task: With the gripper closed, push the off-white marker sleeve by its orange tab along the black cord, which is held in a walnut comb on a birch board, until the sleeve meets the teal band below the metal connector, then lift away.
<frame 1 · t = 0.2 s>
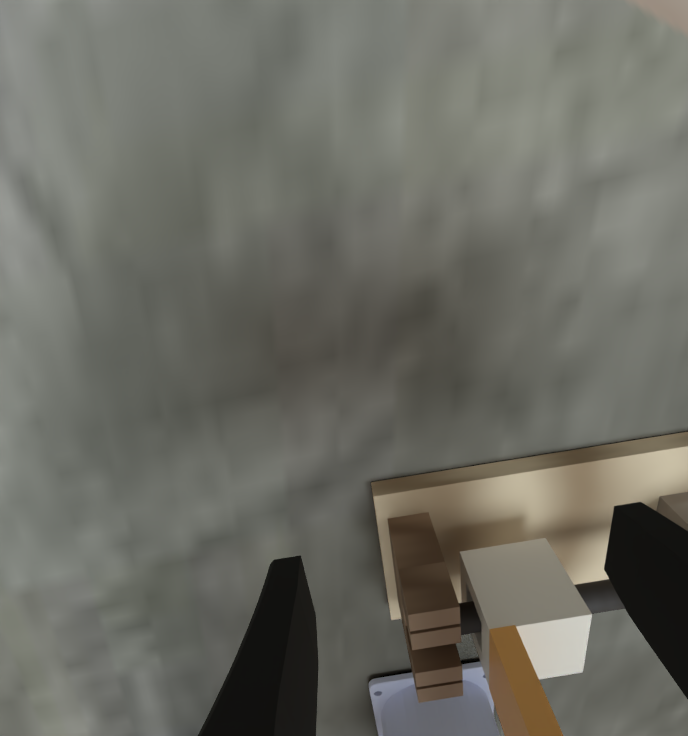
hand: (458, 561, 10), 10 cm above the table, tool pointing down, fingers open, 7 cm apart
sleeve: (539, 655, 18), point 6 cm above the table, slide at 0.0 cm
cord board: (548, 521, 24), on the table
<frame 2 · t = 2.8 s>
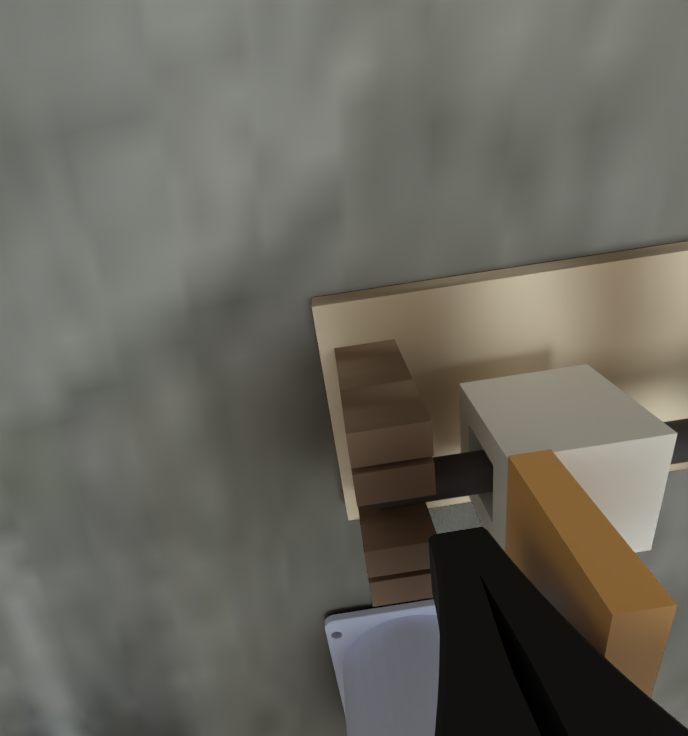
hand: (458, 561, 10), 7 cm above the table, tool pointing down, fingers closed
sleeve: (587, 510, 11), point 6 cm above the table, slide at 0.6 cm, touching gripper
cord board: (566, 376, 17), on the table
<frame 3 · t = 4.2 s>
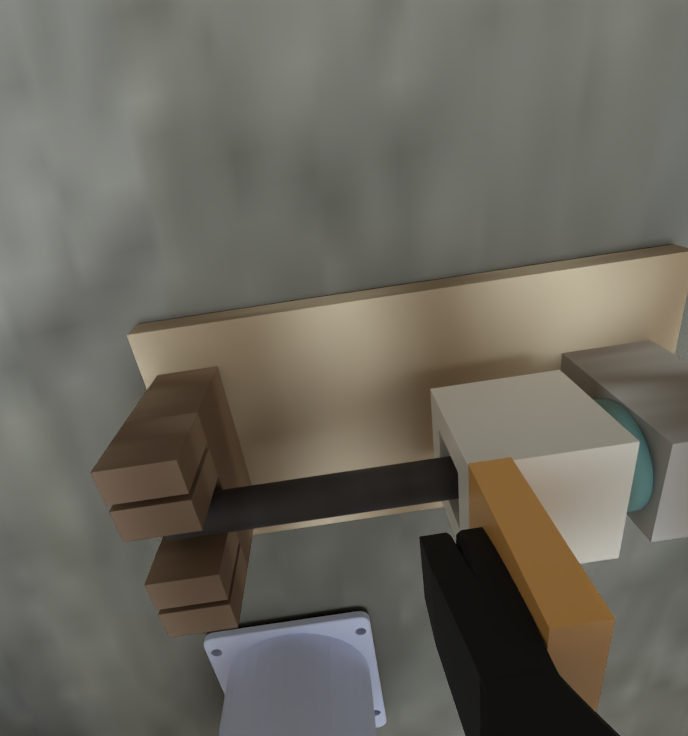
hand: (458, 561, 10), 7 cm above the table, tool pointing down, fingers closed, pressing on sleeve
sleeve: (550, 518, 11), point 6 cm above the table, slide at 5.6 cm, touching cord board, gripper
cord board: (413, 400, 17), on the table
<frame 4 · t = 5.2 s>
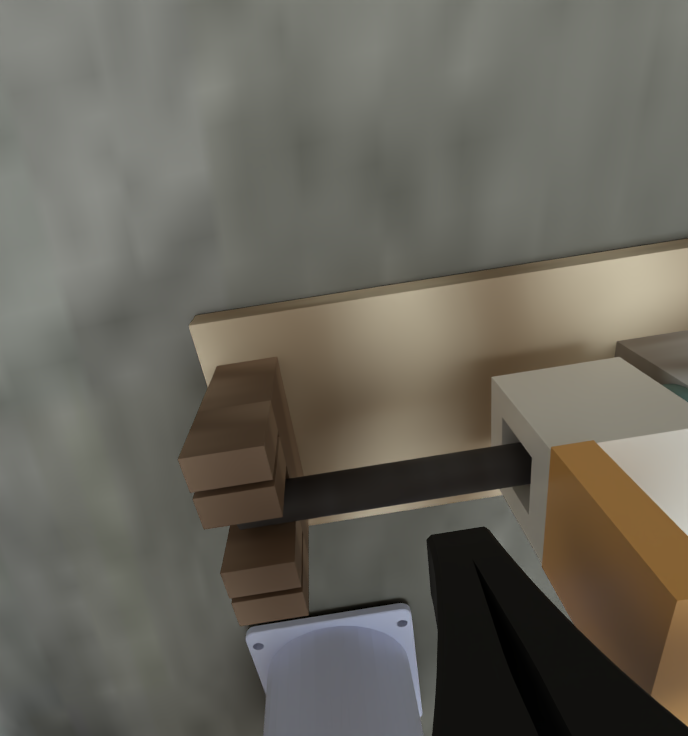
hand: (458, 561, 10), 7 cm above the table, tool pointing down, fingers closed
sleeve: (627, 501, 11), point 7 cm above the table, slide at 5.6 cm
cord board: (464, 390, 17), on the table
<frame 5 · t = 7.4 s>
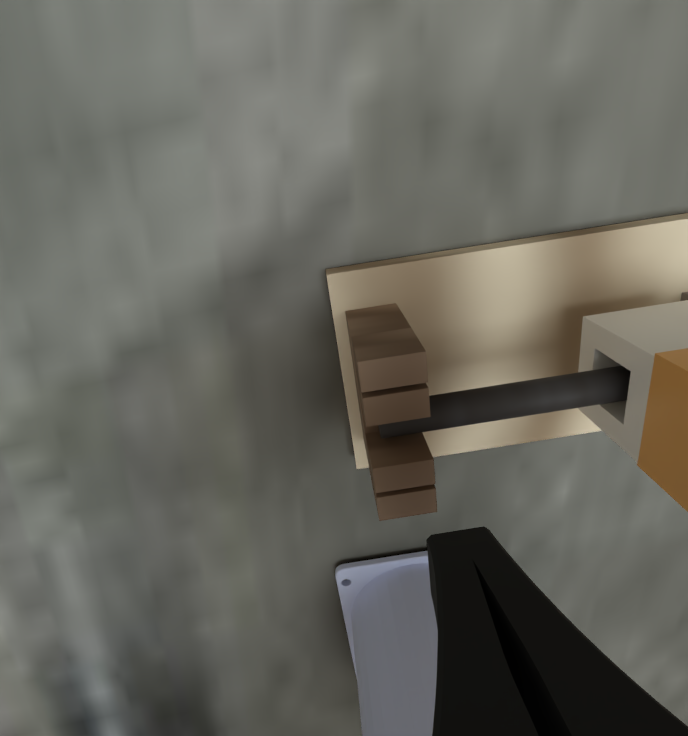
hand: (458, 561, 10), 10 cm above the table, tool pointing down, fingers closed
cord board: (545, 339, 20), on the table
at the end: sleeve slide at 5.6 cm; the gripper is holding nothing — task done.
